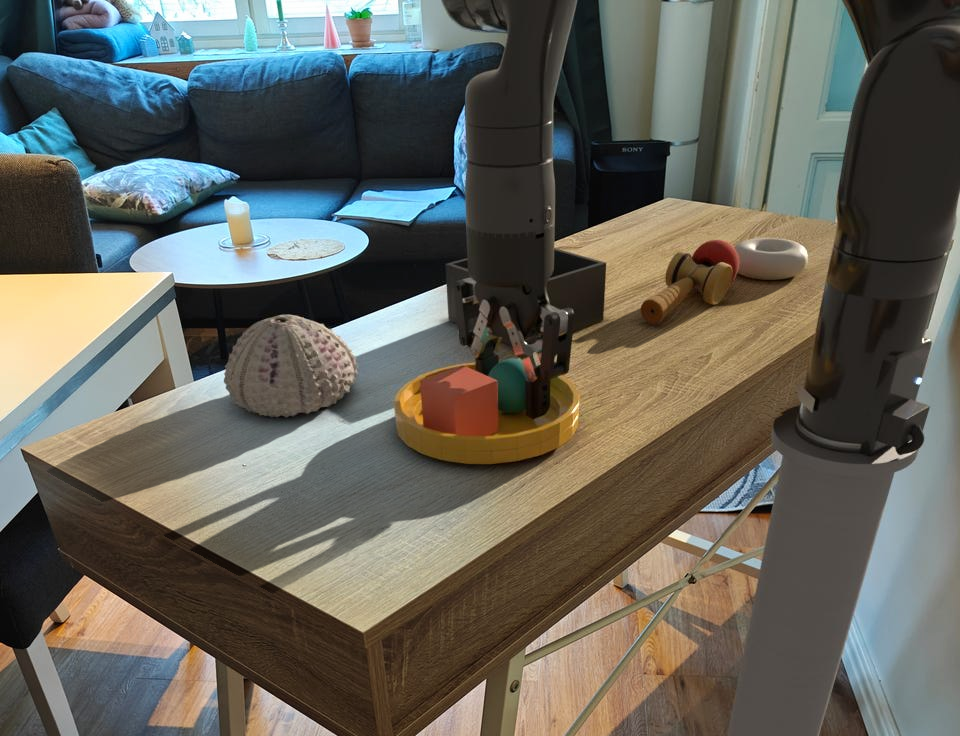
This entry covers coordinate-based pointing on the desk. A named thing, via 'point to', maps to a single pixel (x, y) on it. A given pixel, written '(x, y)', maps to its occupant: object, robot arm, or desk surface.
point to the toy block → (460, 402)
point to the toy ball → (510, 385)
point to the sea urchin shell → (289, 367)
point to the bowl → (507, 445)
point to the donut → (771, 258)
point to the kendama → (694, 278)
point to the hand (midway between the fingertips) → (512, 403)
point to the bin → (554, 288)
